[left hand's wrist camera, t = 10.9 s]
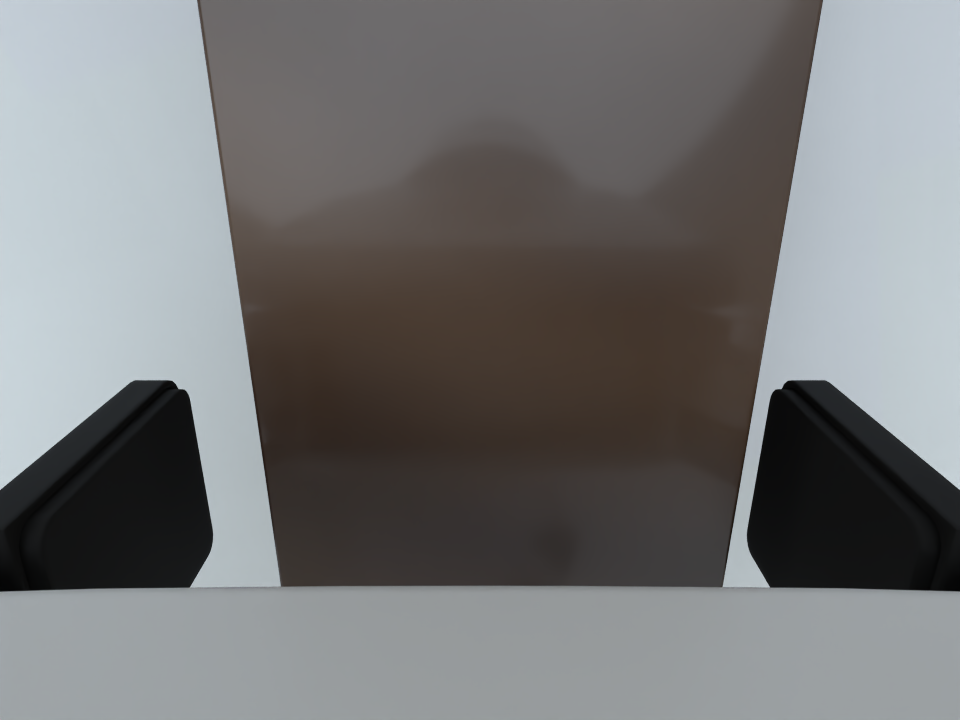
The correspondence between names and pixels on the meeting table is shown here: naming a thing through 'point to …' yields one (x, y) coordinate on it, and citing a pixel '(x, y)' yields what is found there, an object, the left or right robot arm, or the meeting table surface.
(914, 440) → the meeting table surface
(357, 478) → the cabinet
